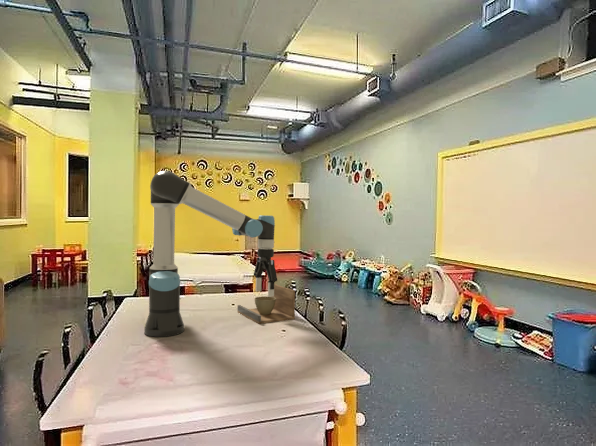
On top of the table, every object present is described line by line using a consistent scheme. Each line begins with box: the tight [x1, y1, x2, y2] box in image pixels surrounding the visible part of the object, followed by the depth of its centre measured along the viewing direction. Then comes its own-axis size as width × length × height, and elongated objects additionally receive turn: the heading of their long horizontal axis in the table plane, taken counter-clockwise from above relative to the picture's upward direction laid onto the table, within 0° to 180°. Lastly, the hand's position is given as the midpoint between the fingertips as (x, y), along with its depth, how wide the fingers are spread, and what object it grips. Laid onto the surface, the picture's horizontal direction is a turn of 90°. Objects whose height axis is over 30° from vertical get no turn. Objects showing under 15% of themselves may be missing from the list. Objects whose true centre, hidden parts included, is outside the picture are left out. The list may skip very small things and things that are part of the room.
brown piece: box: [237, 283, 296, 325], centre depth 193 cm, size 18×24×13 cm
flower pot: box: [254, 296, 276, 315], centre depth 194 cm, size 10×10×7 cm
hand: (264, 293), depth 193 cm, fingers open, 13 cm apart
